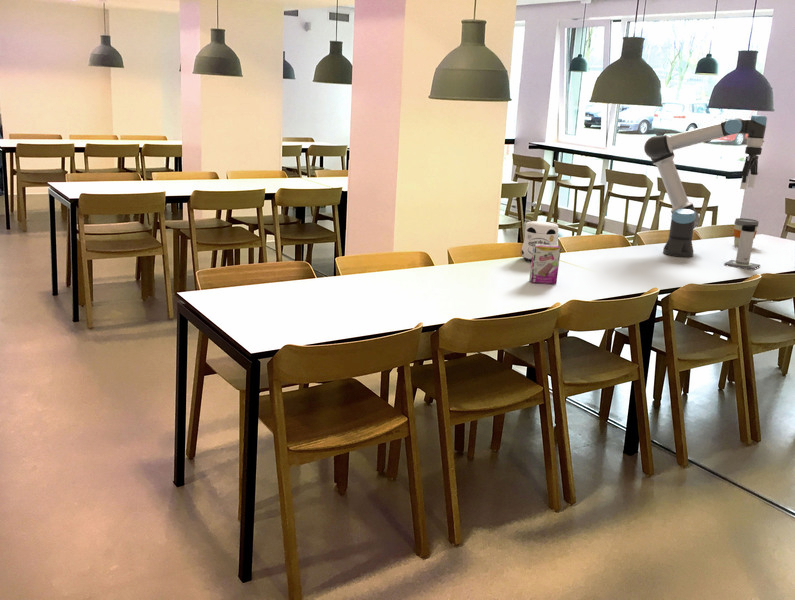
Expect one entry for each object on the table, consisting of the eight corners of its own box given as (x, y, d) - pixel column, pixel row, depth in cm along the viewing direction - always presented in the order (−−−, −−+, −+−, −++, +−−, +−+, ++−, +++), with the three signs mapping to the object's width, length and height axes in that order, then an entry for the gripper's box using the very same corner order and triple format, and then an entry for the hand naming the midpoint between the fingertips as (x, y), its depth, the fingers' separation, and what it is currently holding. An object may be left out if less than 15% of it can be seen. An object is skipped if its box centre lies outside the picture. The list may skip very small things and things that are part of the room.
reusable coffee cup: (725, 243, 444) (730, 218, 440) (743, 243, 448) (748, 218, 444) (741, 248, 433) (745, 222, 429) (759, 248, 437) (764, 222, 432)
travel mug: (747, 265, 382) (755, 225, 376) (734, 263, 385) (741, 223, 380) (750, 263, 386) (758, 224, 381) (737, 261, 390) (744, 222, 385)
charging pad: (724, 265, 386) (724, 262, 386) (731, 261, 395) (731, 259, 395) (753, 270, 378) (753, 267, 377) (760, 266, 387) (760, 264, 386)
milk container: (532, 265, 362) (536, 227, 357) (514, 257, 378) (517, 221, 373) (563, 263, 369) (567, 227, 364) (544, 256, 384) (548, 220, 379)
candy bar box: (531, 283, 328) (535, 246, 323) (528, 280, 332) (532, 243, 328) (557, 284, 328) (561, 247, 324) (554, 281, 333) (558, 244, 328)
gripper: (755, 147, 379) (747, 190, 384) (768, 146, 397) (761, 187, 403) (739, 146, 383) (732, 188, 389) (753, 145, 402) (746, 185, 408)
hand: (746, 188), depth 396 cm, fingers open, 13 cm apart
